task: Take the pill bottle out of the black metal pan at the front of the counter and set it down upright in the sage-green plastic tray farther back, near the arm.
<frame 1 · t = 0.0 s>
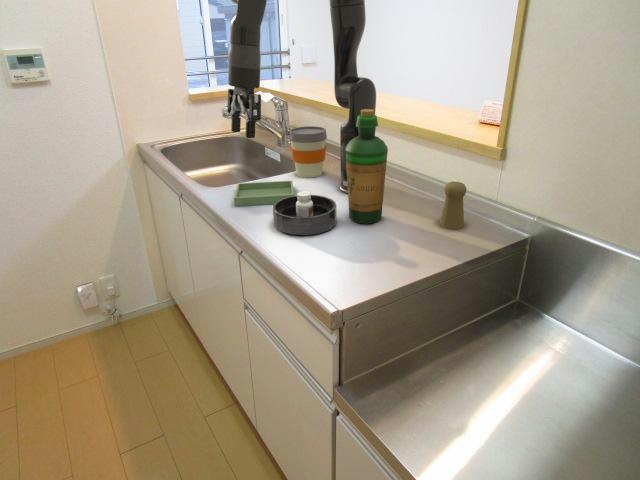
hand: (242, 134, 113), 22 cm above the worktop, tool pointing down, fingers open, 8 cm apart
pan: (305, 223, 118), on the worktop
pill bottle: (305, 222, 118), resting on pan
bottle: (365, 219, 120), on the worktop
cork: (451, 224, 115), on the worktop
tray: (265, 196, 137), on the worktop
reusable coffee cup: (309, 174, 156), on the worktop
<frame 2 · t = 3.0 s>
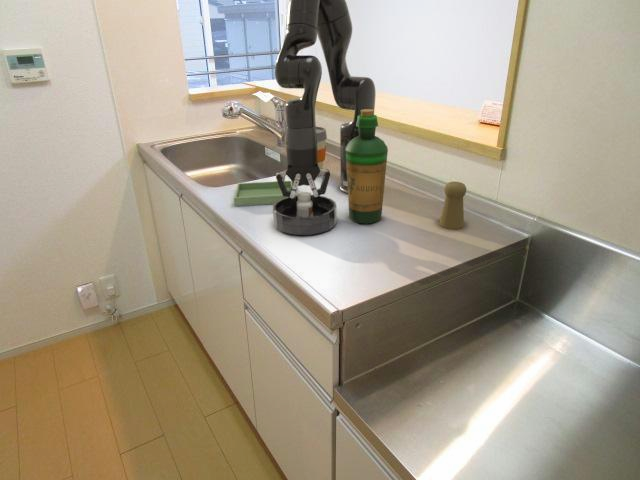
hand: (304, 209, 116), 4 cm above the worktop, tool pointing down, fingers closed on pill bottle, 4 cm apart
pill bottle: (305, 222, 118), resting on pan, touching gripper
everything else where it was.
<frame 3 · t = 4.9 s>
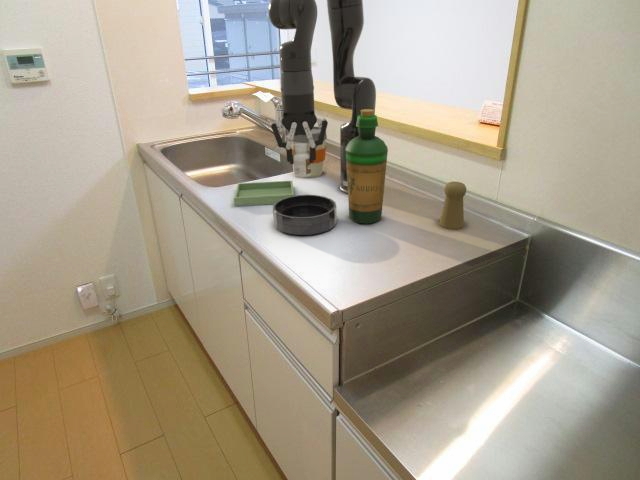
hand: (301, 162, 112), 16 cm above the worktop, tool pointing down, fingers closed on pill bottle, 4 cm apart
pill bottle: (302, 176, 113), point 13 cm above the worktop, touching gripper
everything else where it was.
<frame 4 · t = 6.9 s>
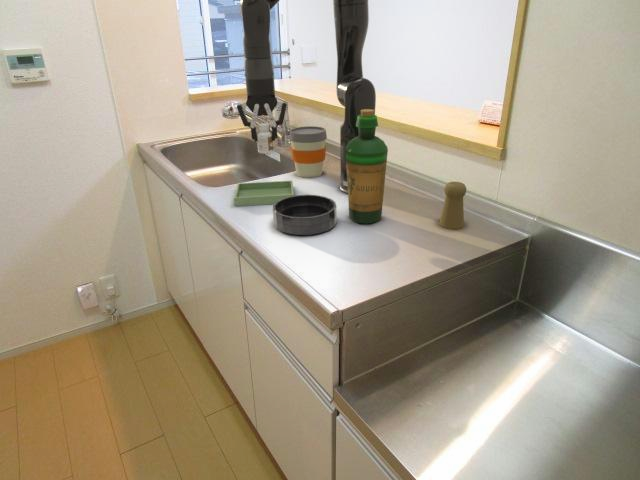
hand: (264, 140, 127), 18 cm above the worktop, tool pointing down, fingers closed on pill bottle, 4 cm apart
pill bottle: (265, 152, 128), point 14 cm above the worktop, touching gripper
everything else where it was.
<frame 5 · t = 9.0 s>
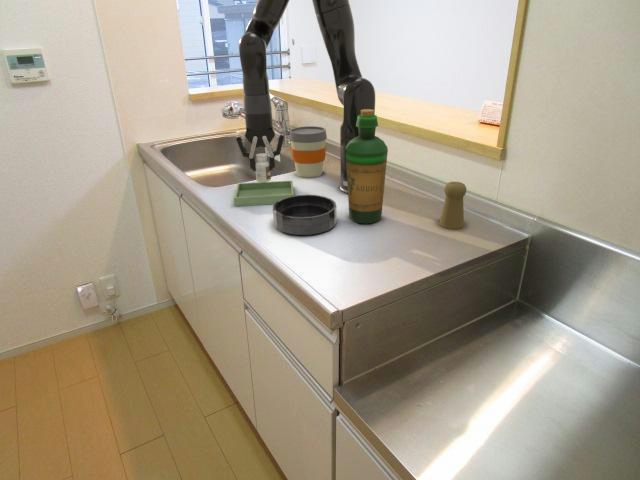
hand: (262, 169, 133), 9 cm above the worktop, tool pointing down, fingers closed on pill bottle, 4 cm apart
pill bottle: (263, 180, 134), point 5 cm above the worktop, touching gripper
everything else where it was.
when the fingers open (4 cm above the worktop, at t = 10.6 s): pill bottle stays where it is, resting on tray.
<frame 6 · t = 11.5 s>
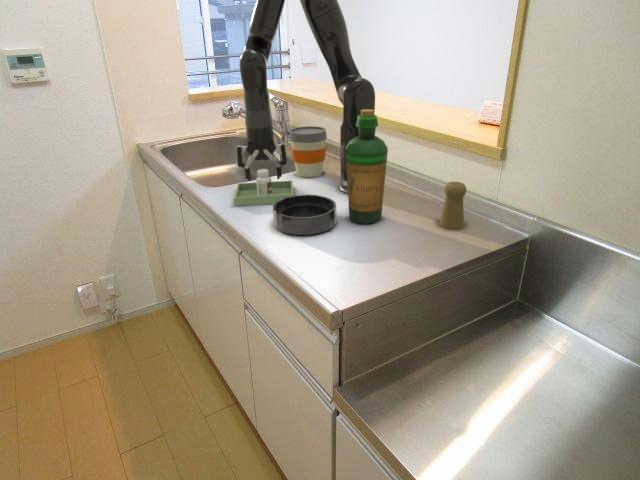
hand: (264, 179, 134), 5 cm above the worktop, tool pointing down, fingers open, 8 cm apart
pill bottle: (265, 195, 136), resting on tray
everything else where it was.
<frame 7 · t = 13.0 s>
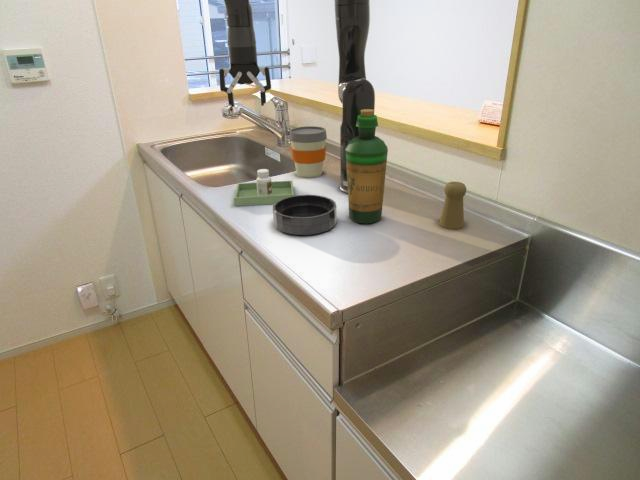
hand: (247, 106, 130), 26 cm above the worktop, tool pointing down, fingers open, 8 cm apart
nothing on the worktop moved.
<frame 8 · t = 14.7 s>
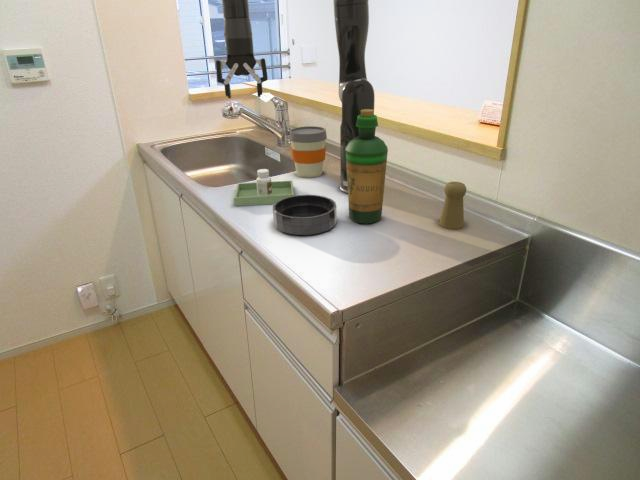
hand: (244, 97, 131), 28 cm above the worktop, tool pointing down, fingers open, 8 cm apart
nothing on the worktop moved.
at the end: pill bottle inside the target area in the tray (0.1 cm from its centre), point 0.3 cm above the tray's base; pill bottle tilted 0°; the gripper is holding nothing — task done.
